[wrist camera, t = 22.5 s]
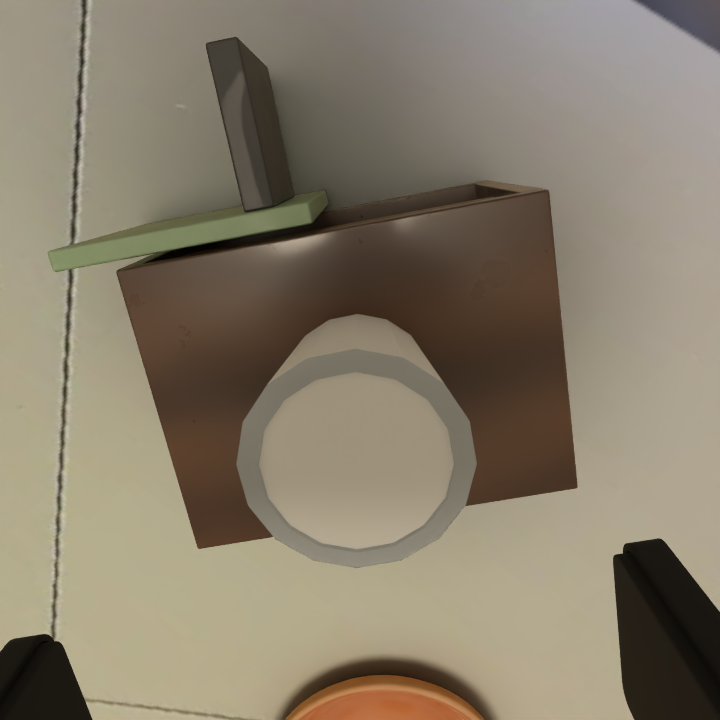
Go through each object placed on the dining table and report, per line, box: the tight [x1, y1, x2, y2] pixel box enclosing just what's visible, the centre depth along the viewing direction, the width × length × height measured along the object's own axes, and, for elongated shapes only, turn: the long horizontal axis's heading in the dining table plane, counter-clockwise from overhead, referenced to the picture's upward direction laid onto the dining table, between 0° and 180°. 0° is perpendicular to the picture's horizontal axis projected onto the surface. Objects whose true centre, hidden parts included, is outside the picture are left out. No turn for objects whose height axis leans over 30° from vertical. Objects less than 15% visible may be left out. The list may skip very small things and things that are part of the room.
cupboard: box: [116, 181, 577, 549], centre depth 31 cm, size 12×16×12 cm
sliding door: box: [48, 37, 328, 272], centre depth 28 cm, size 7×10×11 cm
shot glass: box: [236, 314, 477, 568], centre depth 22 cm, size 7×7×7 cm
